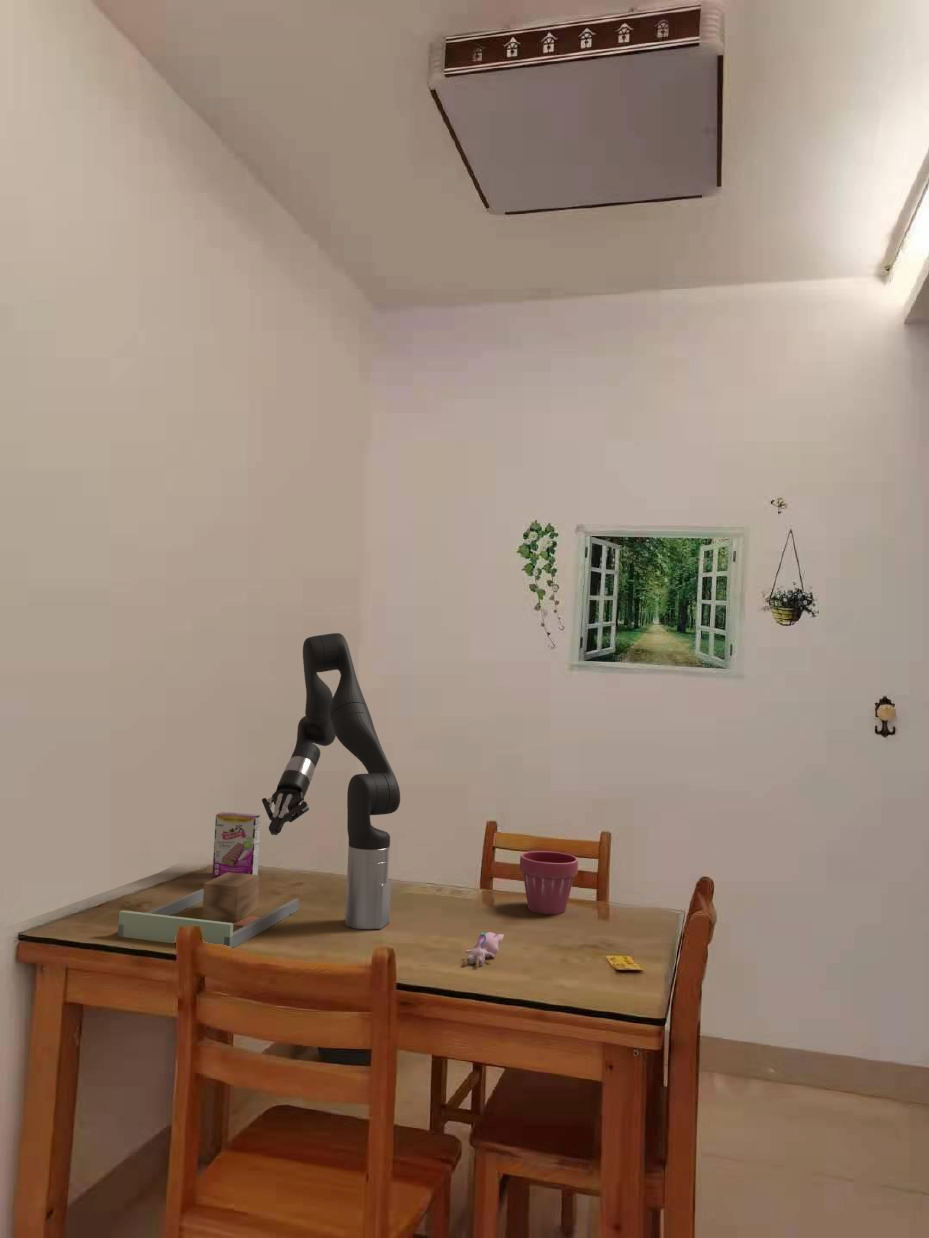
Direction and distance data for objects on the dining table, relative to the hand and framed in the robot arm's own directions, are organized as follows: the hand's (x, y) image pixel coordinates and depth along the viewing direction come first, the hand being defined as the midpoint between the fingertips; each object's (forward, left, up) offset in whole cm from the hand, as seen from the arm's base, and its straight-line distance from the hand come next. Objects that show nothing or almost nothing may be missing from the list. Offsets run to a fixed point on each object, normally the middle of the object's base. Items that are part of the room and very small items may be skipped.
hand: (273, 832), depth 233 cm
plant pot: (-67, -13, -15) cm, 70 cm away
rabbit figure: (-61, +30, -15) cm, 70 cm away
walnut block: (0, +20, -15) cm, 25 cm away
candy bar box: (+17, -14, -15) cm, 27 cm away
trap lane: (0, +28, -15) cm, 31 cm away
